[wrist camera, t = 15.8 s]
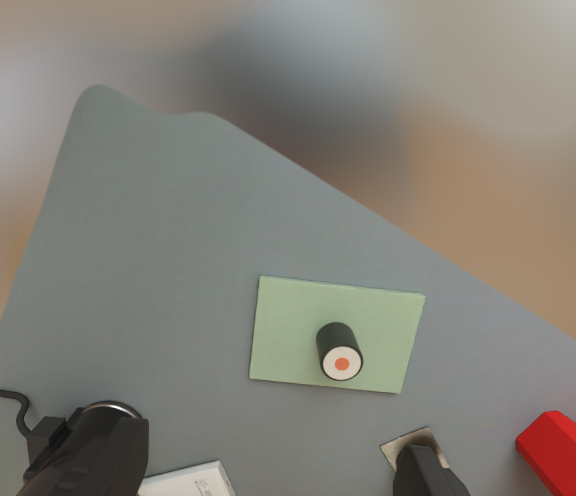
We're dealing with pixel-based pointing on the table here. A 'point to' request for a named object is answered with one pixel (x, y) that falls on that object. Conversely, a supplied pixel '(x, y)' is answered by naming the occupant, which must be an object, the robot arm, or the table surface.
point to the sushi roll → (338, 352)
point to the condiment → (415, 438)
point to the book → (551, 451)
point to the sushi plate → (326, 309)
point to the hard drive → (189, 482)
